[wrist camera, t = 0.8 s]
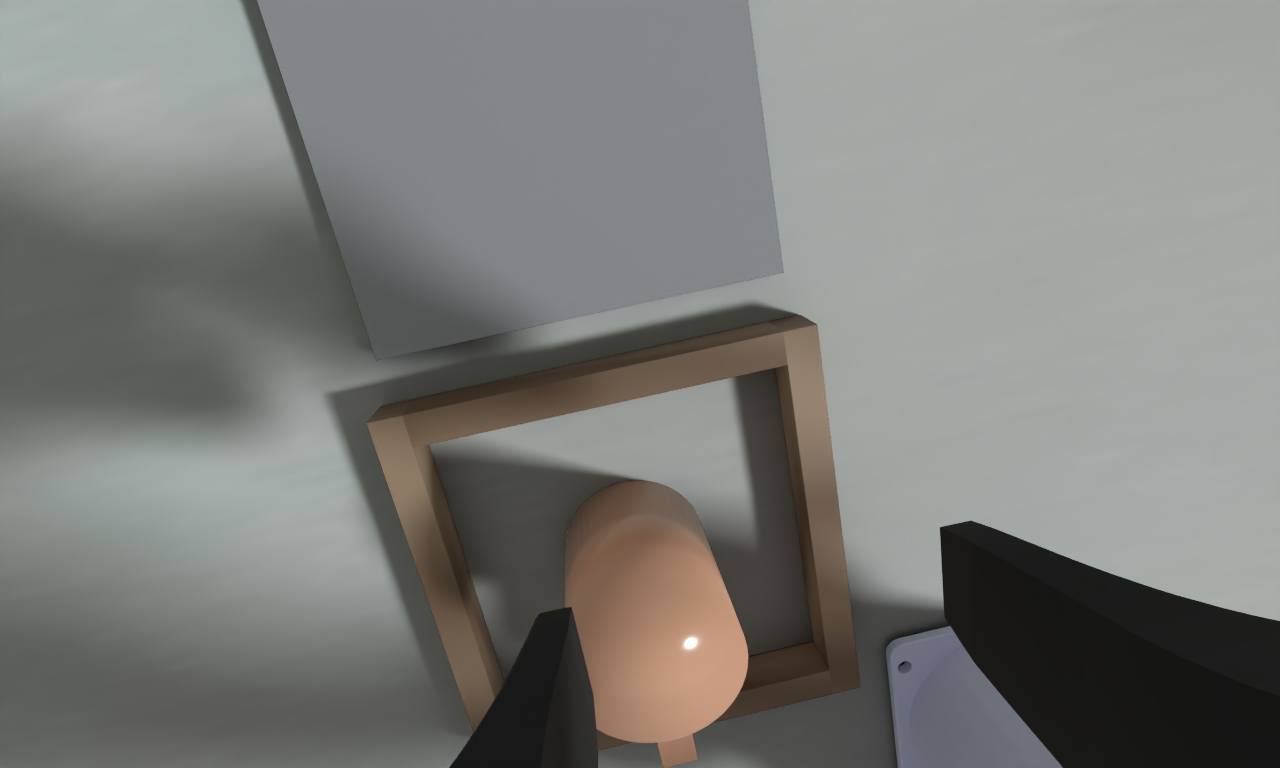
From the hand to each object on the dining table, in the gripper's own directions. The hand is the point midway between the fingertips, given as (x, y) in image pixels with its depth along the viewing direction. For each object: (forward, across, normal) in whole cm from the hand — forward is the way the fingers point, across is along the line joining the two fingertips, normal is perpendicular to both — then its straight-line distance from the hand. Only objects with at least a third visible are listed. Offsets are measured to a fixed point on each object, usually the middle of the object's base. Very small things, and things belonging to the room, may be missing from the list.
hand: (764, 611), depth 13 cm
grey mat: (+9, +2, -11) cm, 14 cm away
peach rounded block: (+9, +2, +3) cm, 10 cm away
